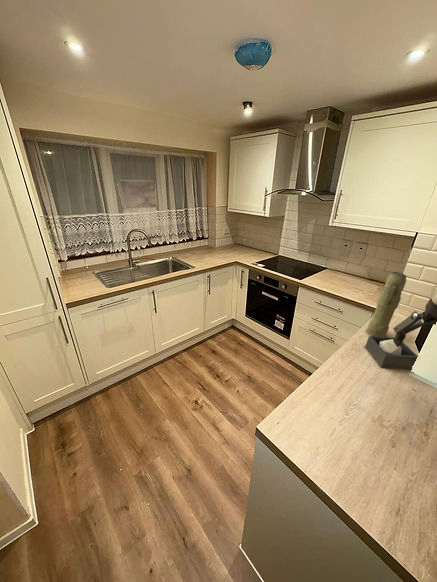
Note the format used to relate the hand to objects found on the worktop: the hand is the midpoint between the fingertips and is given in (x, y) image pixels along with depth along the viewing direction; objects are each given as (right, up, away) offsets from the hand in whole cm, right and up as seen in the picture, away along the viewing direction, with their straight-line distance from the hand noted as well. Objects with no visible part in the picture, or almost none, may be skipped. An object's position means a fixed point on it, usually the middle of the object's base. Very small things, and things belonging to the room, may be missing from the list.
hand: (415, 343), depth 89 cm
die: (+5, -11, +22) cm, 25 cm away
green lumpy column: (+12, -3, +40) cm, 42 cm away
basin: (+5, -11, +22) cm, 25 cm away
